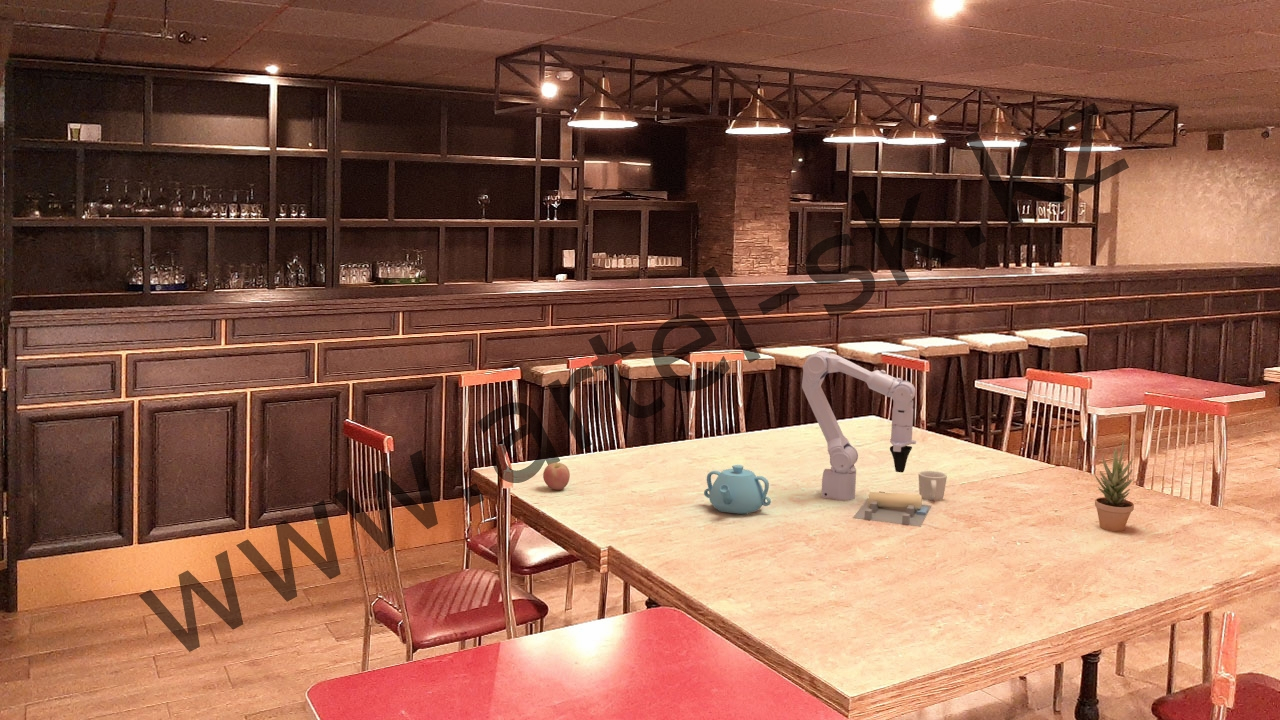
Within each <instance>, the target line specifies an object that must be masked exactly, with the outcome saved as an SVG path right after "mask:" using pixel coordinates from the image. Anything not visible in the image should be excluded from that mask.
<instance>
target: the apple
mask: <svg viewBox="0 0 1280 720" xmlns="http://www.w3.org/2000/svg"><path fill="white" fill-rule="evenodd" d="M570 476H571V474H570V470H569V468H568V466H567V465H566V464H564V463H562V462H552V463H550V464H548V465H546V467H545V468H544V470H543V473H542V478H543V481H544V483H545V484H546V486H547V487H548V488H550V489H552V490H555V491H561V490H563V489H565V488H566V487H567V485H568V484H569V482H570Z"/></svg>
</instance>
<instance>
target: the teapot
mask: <svg viewBox="0 0 1280 720" xmlns="http://www.w3.org/2000/svg"><path fill="white" fill-rule="evenodd" d="M712 475H717V477H716V479H715V480H714V482H713V483H712ZM760 481H761V482H763V484H764V489H763V486H762V484H761V482H760ZM706 483H707V484H706V485H707V488H706V489H704V491H703V495H704V496H705V497H706V498H707V499H709V501H710V503H711V505H712V506H713V507H714V509H715V510H718V512H720V513H730V514H738V515H740V514H741V516H747V515H748V514H749V513H754V512H755V513H756V512H757V511H758V510H760V508H761V507H762V506H764V507H768V506H770V505H771V503H772V500H771V497H769V496H767V495H768V491H769V488H770V483H769V481H768V479H767V478H766V477H764V476H763V475H762V476H760V475H759V476H757V475H756V474H755V472H753V471H752V470H748V469H744V466H743V465H741V464H734V465H732V468H728V469H723V470H722V471H719V470H711V471H709V472H708V473H707V475H706ZM766 501H767V502H766Z"/></svg>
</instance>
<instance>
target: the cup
mask: <svg viewBox="0 0 1280 720" xmlns="http://www.w3.org/2000/svg"><path fill="white" fill-rule="evenodd" d="M947 478H948V475H947V474H946V473H944V472H942V471H938V470H937V471H935V470H922V471H919V472H918V488H919V489H918V490H919V491H918V492H919V494H918V495H921V496H922V500H925V501H926V500H927V501H941V502H942V501H943V500H944V496H945V490H946V484H947Z"/></svg>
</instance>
